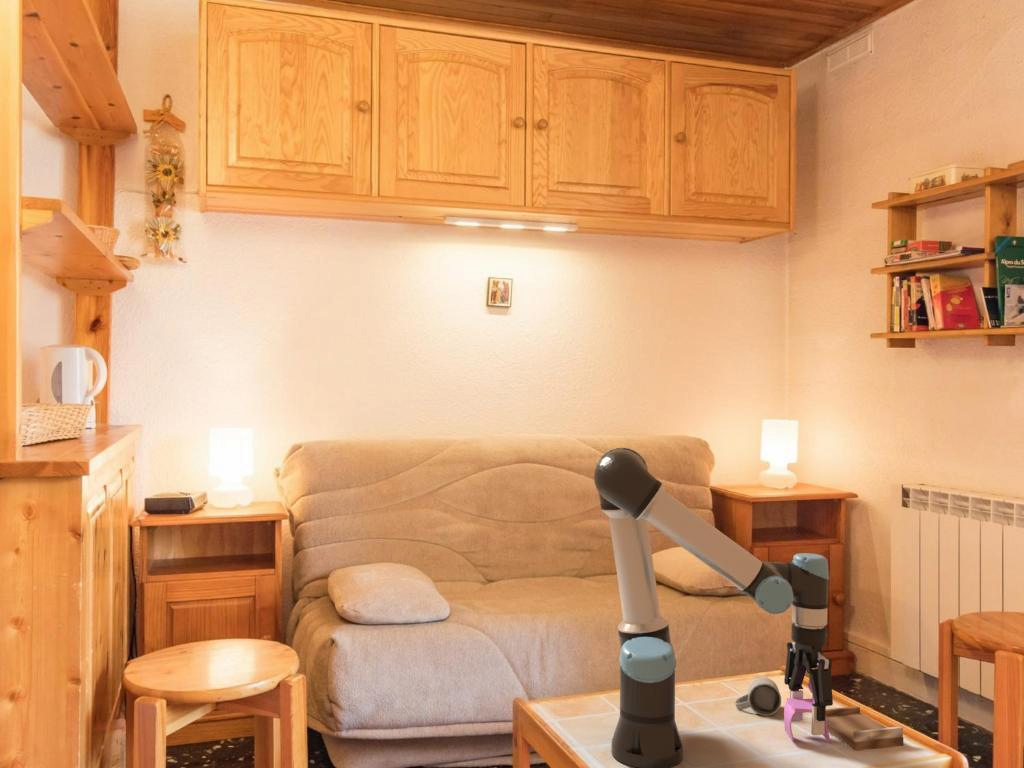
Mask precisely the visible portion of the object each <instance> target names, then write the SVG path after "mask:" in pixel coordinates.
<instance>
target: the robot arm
mask: <svg viewBox="0 0 1024 768" xmlns="http://www.w3.org/2000/svg"><path fill="white" fill-rule="evenodd" d="M593 473H594V474H593V480H594V485H595V489H596V490H597V492H598V497H599V502H600V505H599V506H600V510H601V511H602V513H604V514H605V515H607V517H608V520H609V527H610V535H611V541H612V547H613V548H612V550H613V555H614V562H615V563H614V565H615V570H616V575H617V576H616V578H617V584H618V592H619V598H620V606H621V612H622V619H621V620H622V621H621V622H620V623H619V624H618V626H617V632H618V638H619V646H620V653H619V656H618V657H619V658H618V659H619V661H618V662H619V666H620V667H619V718H618V721H617V724H616V727H615V730H614V732H613V735H612V738H611V755H612V757H613V758H614V759H615V760H616V761H618V762H620V763H622V764H624V765H627V766H630V767H633V768H671V767H674V766H676V765H678V764H680V763H681V762H682V761H683V758H684V746H683V742H682V738H681V736H680V733H679V730H678V729H679V728H678V726H677V723H676V714H675V710H676V667H677V658H676V653H675V650H674V647H673V644H672V639H671V633H670V626H669V622H668V620H667V619H666V618H664V616H662V615H661V609H660V602H659V596H658V595H659V594H658V589H657V588H658V587H657V579H656V574H655V567H654V560H653V553H652V552H653V551H652V545H651V539H650V532H649V525H648V524H650V525H651V526H652V527H654V528H655V529H657V530H658V531H659V532H661V533H662V534H663V535H664V536H666V537H668V538H669V539H670V540H672V541H673V542H674V543H676V544H677V545H679V546H680V547H682V549H684V550H685V551H687V552H688V553H690V554H691V555H693V556H694V557H695V558H697V559H698V560H699V561H700V562H702V563H703V564H704V565H706V566H707V567H709V568H710V569H711V570H713V571H714V572H715V573H717V574H718V575H720V576H721V577H722V578H724V579H725V580H727V582H729V583H730V584H731V585H733V586H735V587H736V588H737V589H738V590H737V591H738V592H739V593H740V594H742V595H746V596H748V597H749V598H750V599H752V600H753V601H754V602H756V604H757V605H758V606H759V608H760V609H762V610H763V611H764V612H766V613H768V614H772V615H779V614H783V613H785V612H786V611H788V610H789V609H790V608H791V621H792V624H791V637H790V638H791V640H792V642H791V641H789V642H787V643H786V651H787V653H786V654H787V655H786V663H785V669H784V670H785V671H784V681H783V682H784V684H785V685H787V686H788V689H789V691H790V692H789V694H790V695H789V696H790V697H789V698H796V699H804V691H803V690H804V686H803V682H804V678H805V676H806V673H807V674H809V677H810V680H811V686H812V691H813V696H814V702H815V703H814V704H812V713H811V730H810V731H811V735H812V736H821V735H822V736H823V735H824V725H825V714H826V708H827V707H829V706H830V707H831V706H833V705H834V703H833V701H834V699H833V698H834V697H833V683H832V665H833V661H832V659H831V658H826V657H825V656H824V652H823V647H824V646H825V645H827V642H828V628H827V625H828V608H829V607H828V606H829V605H828V600H829V580H830V576H829V561H828V559H827V557H825V556H824V555H821V554H817V553H809V552H804V553H803V552H802V553H801V552H800V553H796V554H794V555H793V559H792V562H791V561H790V562H779V561H764V560H760V559H759V558H757V557H756V556H754V555H753V554H751V552H749V551H748V550H746V549H745V548H743V547H742V546H741V545H740V544H738V543H737V542H736V541H734V540H732V538H730V537H728V536H727V535H726V534H724V533H723V532H721V531H720V530H719V529H718V528H716V527H715V526H713V525H712V524H711V523H710V522H707V521H706V520H705V519H704V518H702V517H701V516H700V515H699V514H697V513H696V512H695V511H693V510H692V509H690V508H688V507H687V506H686V505H684V504H683V503H682V502H680V501H679V500H678V499H676V498H675V497H674V496H673V495H671V494H669V492H667V491H666V490H665V488H664V484H663V482H662V481H660V480H659V479H657V478H656V477H655V476H653V474H652V473H651V472H650V471H649V469H648V465H647V463H646V461H645V459H644V458H643V456H642V455H641V454H640V453H638V452H637V451H636V450H633V449H632V448H628V447H616V448H611V449H610V450H608V451H606V452H605V453H604V454H602V456H601V457H600V459H599V460H598V462H597V464H596V466H595V469H594V472H593ZM819 699H820V700H819ZM803 719H804V718H803V713H796V714H795V715H794V717H793V719H792V722H793V721H795V722H796V721H803Z"/></svg>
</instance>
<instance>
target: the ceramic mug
mask: <svg viewBox="0 0 1024 768" xmlns="http://www.w3.org/2000/svg"><path fill="white" fill-rule="evenodd" d="M734 705H735V707H736V708H737V710H746V709H749V708H750V709H752V711H753V712H754V713H756V714H757V715H760V716H765V717H769V716H773V715H774V714H776V713H777V712H778V711H779V710H780V708H781V706H782V696H781V692H780V689H779V688H778V686H777V684H776V682H775V681H773V680H772V679H771V678H769V677H765V676H761V677H760V676H759V677H756V678H755V679H752V681H751V683H750V684H749V686H748V693H747V694H744V695H742V696H739V697H738V698H737V699H736V700H735V702H734Z"/></svg>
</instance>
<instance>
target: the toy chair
mask: <svg viewBox="0 0 1024 768" xmlns="http://www.w3.org/2000/svg"><path fill="white" fill-rule="evenodd" d="M808 678H809V679H808V683H807V687H808V689H809V692H810V693H811V694H812V696H811V698H803V699H796V698H790V697H787V698H786V702H785V703H784V710H783V716H784V717H783V718H784V719H783V720H784V731H785V733H786V734H787V735H788V737H789V738H790V740H791V741H792V742H793V743H795V739H794V735H793V730H792V722H793V721H792V719H793V717H794V715H795V714H796V713H805V714H806V713H811V714H812V704H814V703H815V702H814V696H813V691H812V686H811V680H810V676H809V677H808ZM819 700H820V699H819ZM822 736H823V737H824V739H825V740H826V741H827V742H828V744H832V741H831V738H830V734H829V733H828V730H827V719H826V715H825V725H824V735H822Z"/></svg>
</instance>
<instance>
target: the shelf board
mask: <svg viewBox="0 0 1024 768" xmlns="http://www.w3.org/2000/svg"><path fill="white" fill-rule="evenodd" d="M825 715H826V719H827V730H828V734H829V733H830V734H829V735H831V736H832V735H833V737H834V736H835V737H836V739H837V738H838V741H840V740H841V743H843V742H844V743H843V744H845V743H846V744H847V746H848V745H849V746H848V747H850V748H851V747H852V748H851V749H852V750H855V751H856V752H857V751H866V749H867V750H874V749H882V748H892V747H902V746H904V730H903V729H904V728H903V727H902V726H893V727H892V726H891V727H886V726H884V725H883V724H881V723H879V722H878V721H875V720H874V719H873V718H870V717H869V716H867V715H865V714H864V713H862V712H861V707H860V706H858V705H857V706H847V707H835V708H828V709H826V714H825ZM835 737H834V738H835ZM846 744H845V745H846Z"/></svg>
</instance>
